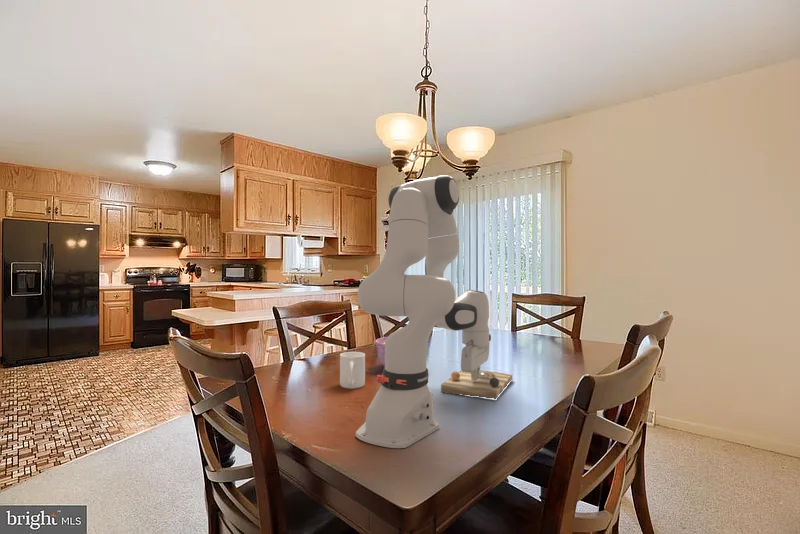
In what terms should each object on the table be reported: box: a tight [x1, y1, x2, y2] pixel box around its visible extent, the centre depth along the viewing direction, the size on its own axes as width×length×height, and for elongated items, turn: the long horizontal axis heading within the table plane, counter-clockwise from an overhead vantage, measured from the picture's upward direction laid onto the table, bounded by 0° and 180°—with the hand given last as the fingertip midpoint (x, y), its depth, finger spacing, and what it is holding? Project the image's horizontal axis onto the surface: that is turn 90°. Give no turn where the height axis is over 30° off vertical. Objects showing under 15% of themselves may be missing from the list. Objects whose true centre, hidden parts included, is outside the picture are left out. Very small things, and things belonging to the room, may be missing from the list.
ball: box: [479, 372, 488, 377], centre depth 142 cm, size 4×4×4 cm
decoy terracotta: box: [450, 370, 460, 380], centre depth 135 cm, size 3×3×3 cm
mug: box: [339, 351, 366, 390], centre depth 136 cm, size 9×12×11 cm
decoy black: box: [490, 377, 499, 387], centre depth 128 cm, size 3×3×3 cm
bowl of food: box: [375, 336, 388, 367], centre depth 159 cm, size 20×20×12 cm
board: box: [440, 369, 513, 399], centre depth 137 cm, size 24×18×2 cm
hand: (475, 379), depth 133 cm, fingers closed
